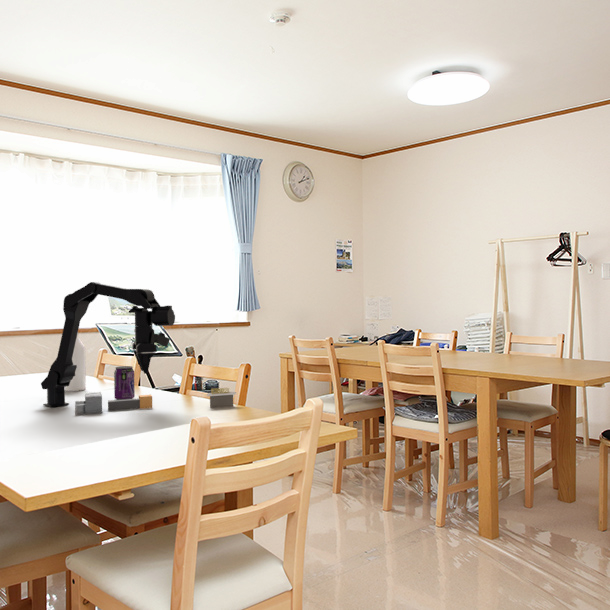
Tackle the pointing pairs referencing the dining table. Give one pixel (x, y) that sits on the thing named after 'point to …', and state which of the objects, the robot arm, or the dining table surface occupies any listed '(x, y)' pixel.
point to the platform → (221, 398)
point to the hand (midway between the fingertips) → (144, 372)
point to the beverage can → (124, 383)
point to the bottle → (78, 368)
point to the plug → (131, 403)
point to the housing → (89, 404)
